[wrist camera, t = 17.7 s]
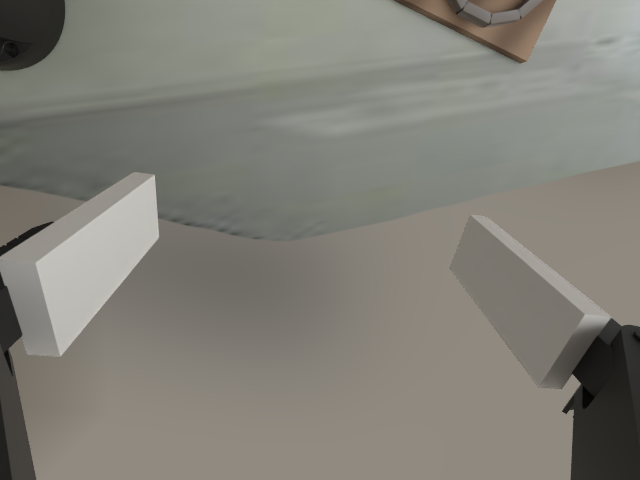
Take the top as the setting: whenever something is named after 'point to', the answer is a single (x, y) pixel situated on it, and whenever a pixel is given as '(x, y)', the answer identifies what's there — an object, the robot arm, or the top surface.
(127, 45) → the top surface
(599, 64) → the top surface
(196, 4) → the top surface
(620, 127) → the top surface
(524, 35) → the collar board
